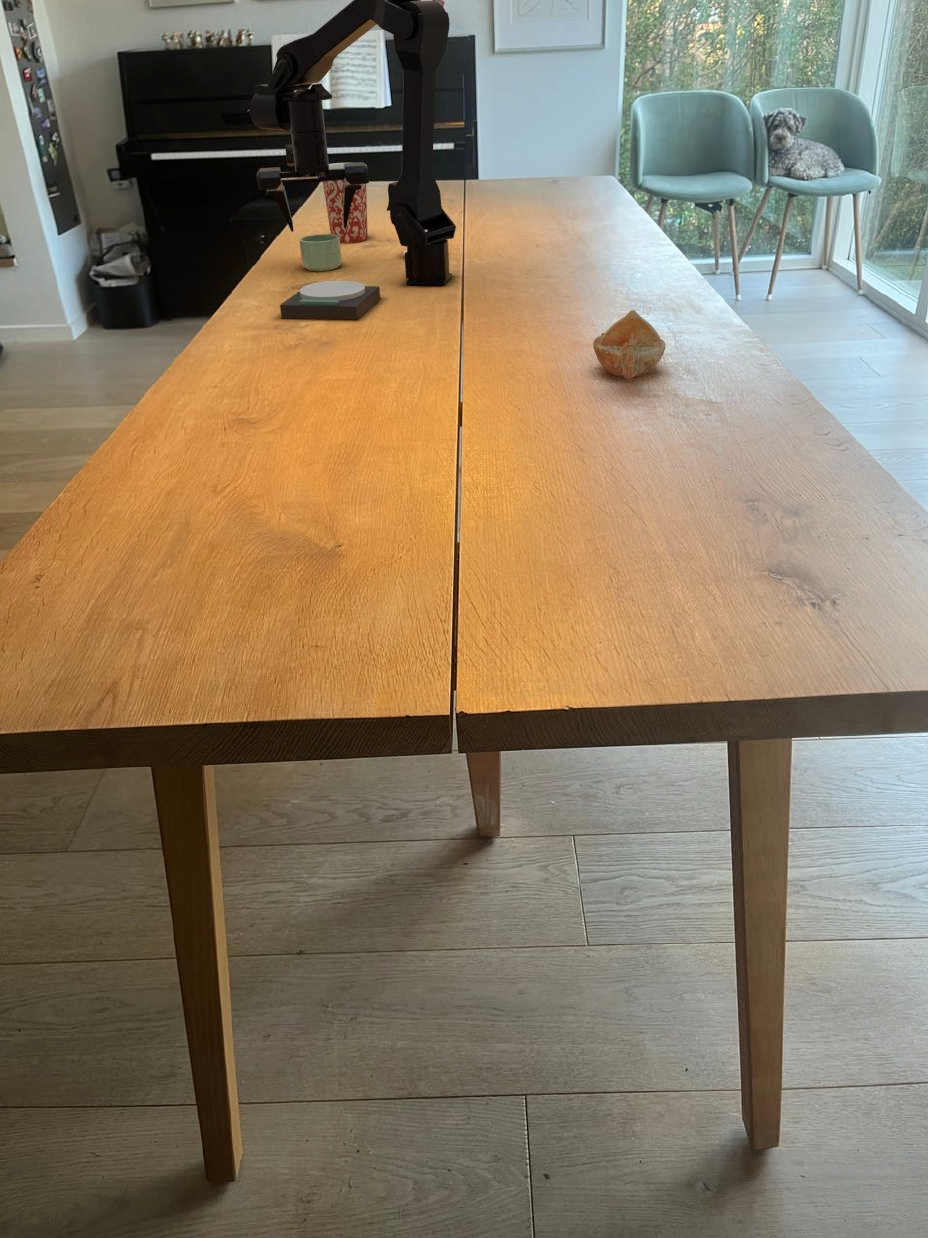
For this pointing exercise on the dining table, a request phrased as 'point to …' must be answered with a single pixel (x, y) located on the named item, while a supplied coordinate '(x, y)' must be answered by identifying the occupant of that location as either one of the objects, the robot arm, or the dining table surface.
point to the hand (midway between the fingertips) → (318, 229)
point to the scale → (331, 301)
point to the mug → (334, 205)
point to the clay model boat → (629, 347)
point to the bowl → (320, 252)
